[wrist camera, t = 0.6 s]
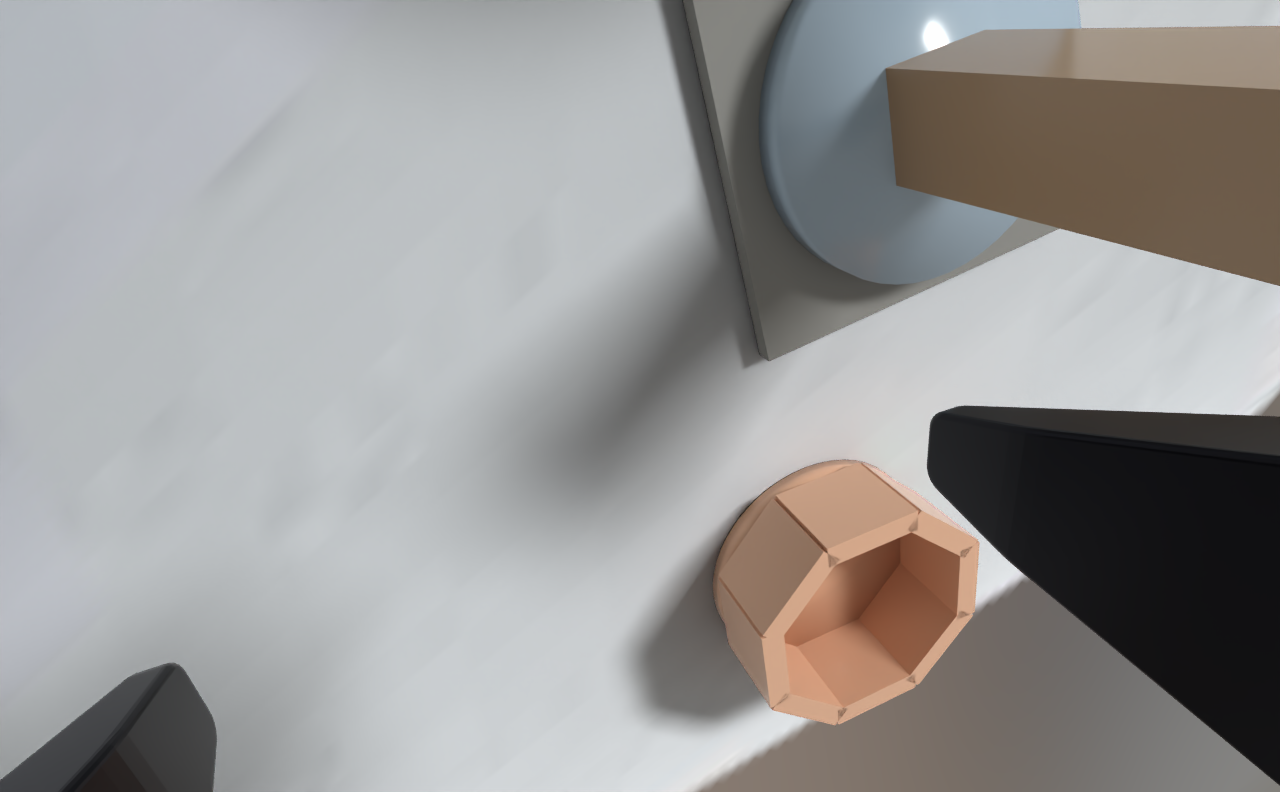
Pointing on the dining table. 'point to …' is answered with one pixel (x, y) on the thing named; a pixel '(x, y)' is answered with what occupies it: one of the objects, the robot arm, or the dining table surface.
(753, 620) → the bowl
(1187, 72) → the tan post on disc
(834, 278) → the mat
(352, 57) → the dining table surface
